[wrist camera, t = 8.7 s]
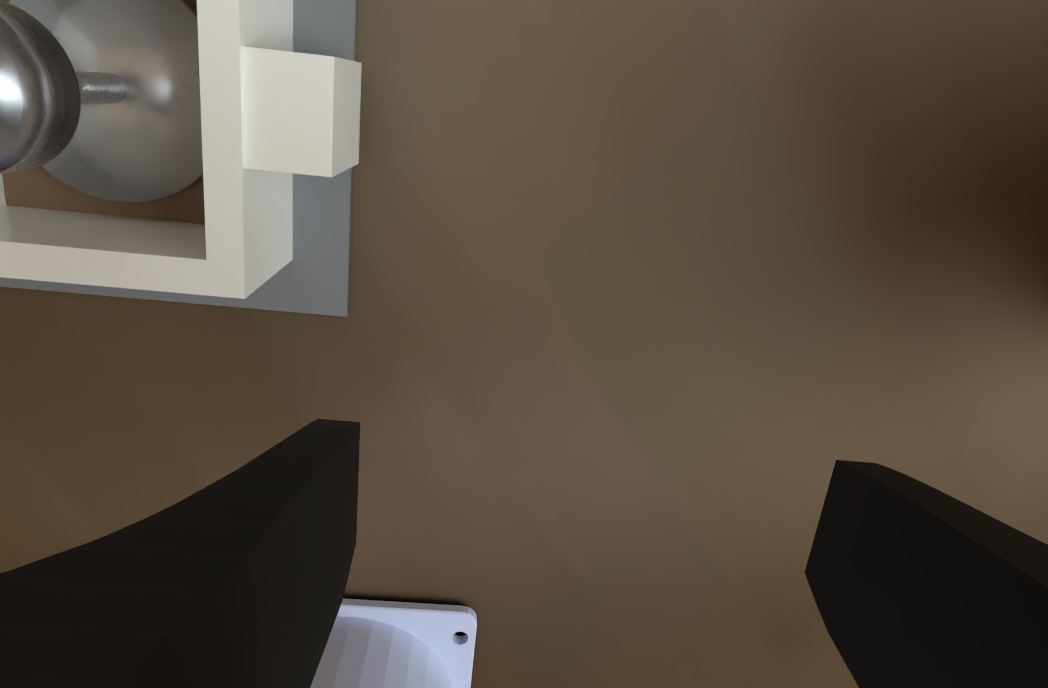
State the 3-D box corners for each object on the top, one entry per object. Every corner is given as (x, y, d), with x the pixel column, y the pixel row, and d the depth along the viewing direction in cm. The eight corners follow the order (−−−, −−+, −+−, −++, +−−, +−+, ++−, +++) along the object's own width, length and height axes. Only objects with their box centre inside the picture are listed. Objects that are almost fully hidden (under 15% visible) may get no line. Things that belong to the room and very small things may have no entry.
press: (359, 315, 21) (326, 368, 17) (-60, 279, 20) (-200, 325, 16) (373, -131, 17) (337, -199, 13) (-137, -199, 16) (-341, -293, 12)
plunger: (236, 209, 19) (110, 267, 13) (19, 188, 18) (-221, 237, 12) (231, -21, 17) (82, -85, 11) (-9, -48, 17) (-305, -132, 10)
